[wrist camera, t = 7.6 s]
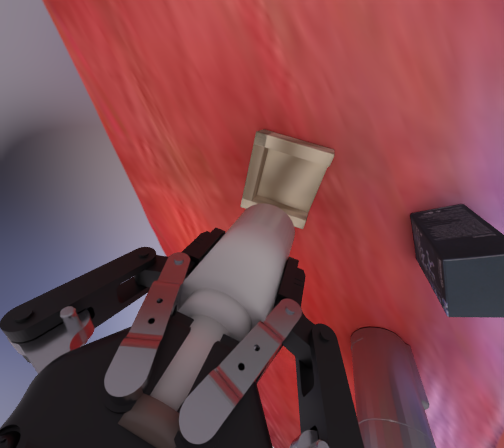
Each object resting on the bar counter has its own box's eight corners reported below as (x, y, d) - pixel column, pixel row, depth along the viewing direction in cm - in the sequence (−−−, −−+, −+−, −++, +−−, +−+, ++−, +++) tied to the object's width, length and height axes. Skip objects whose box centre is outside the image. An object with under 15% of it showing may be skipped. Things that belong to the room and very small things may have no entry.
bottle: (303, 216, 16) (232, 481, 5) (284, 261, 19) (209, 501, 7) (245, 195, 17) (61, 376, 5) (234, 241, 20) (96, 429, 8)
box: (408, 213, 28) (442, 260, 19) (463, 202, 26) (532, 251, 17) (414, 259, 31) (447, 319, 22) (465, 254, 28) (525, 319, 19)
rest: (334, 149, 27) (334, 154, 24) (305, 218, 33) (302, 229, 30) (263, 129, 29) (256, 131, 26) (248, 198, 35) (240, 206, 32)
